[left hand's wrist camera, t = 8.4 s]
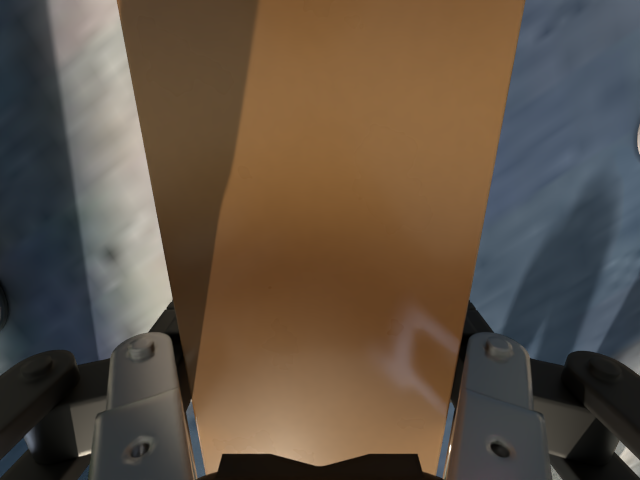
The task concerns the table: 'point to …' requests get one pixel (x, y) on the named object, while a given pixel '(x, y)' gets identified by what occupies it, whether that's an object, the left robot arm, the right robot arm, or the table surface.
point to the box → (321, 209)
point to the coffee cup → (638, 139)
